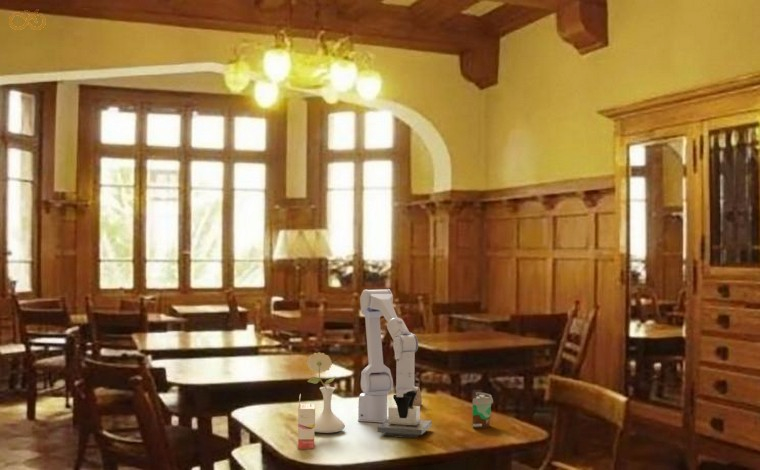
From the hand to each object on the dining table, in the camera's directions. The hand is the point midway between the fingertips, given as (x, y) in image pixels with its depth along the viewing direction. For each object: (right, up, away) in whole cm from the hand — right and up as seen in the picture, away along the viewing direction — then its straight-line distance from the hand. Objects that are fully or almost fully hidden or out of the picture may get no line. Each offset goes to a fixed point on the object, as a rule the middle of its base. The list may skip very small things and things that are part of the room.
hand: (405, 416), depth 266 cm
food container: (+26, -6, +11) cm, 29 cm away
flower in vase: (-25, -6, +2) cm, 26 cm away
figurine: (+4, -6, +47) cm, 47 cm away
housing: (0, -2, 0) cm, 2 cm away
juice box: (-30, -5, -17) cm, 34 cm away
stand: (0, -5, 0) cm, 5 cm away
